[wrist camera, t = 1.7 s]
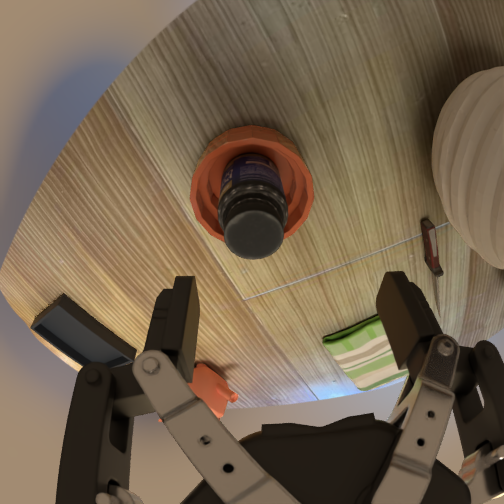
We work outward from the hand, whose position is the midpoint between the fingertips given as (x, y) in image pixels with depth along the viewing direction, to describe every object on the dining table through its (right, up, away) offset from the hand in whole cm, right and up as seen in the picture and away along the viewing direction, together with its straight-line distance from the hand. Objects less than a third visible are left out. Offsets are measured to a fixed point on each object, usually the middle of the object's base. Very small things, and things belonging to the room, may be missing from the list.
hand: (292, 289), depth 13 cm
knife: (+25, 0, +29) cm, 38 cm away
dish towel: (+23, -17, +41) cm, 50 cm away
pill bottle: (-2, +10, +20) cm, 22 cm away
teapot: (-12, -22, +45) cm, 52 cm away
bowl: (-2, +10, +20) cm, 23 cm away
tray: (-33, -14, +37) cm, 52 cm away
